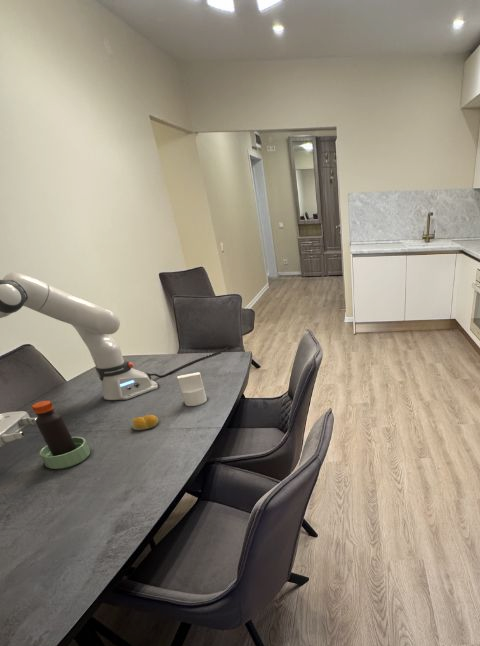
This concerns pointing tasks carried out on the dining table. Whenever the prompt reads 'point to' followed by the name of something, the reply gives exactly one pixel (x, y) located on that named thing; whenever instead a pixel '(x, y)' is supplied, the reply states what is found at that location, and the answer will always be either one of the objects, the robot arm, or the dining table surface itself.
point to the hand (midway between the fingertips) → (30, 427)
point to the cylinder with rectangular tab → (192, 389)
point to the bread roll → (145, 422)
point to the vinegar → (53, 429)
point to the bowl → (66, 455)
